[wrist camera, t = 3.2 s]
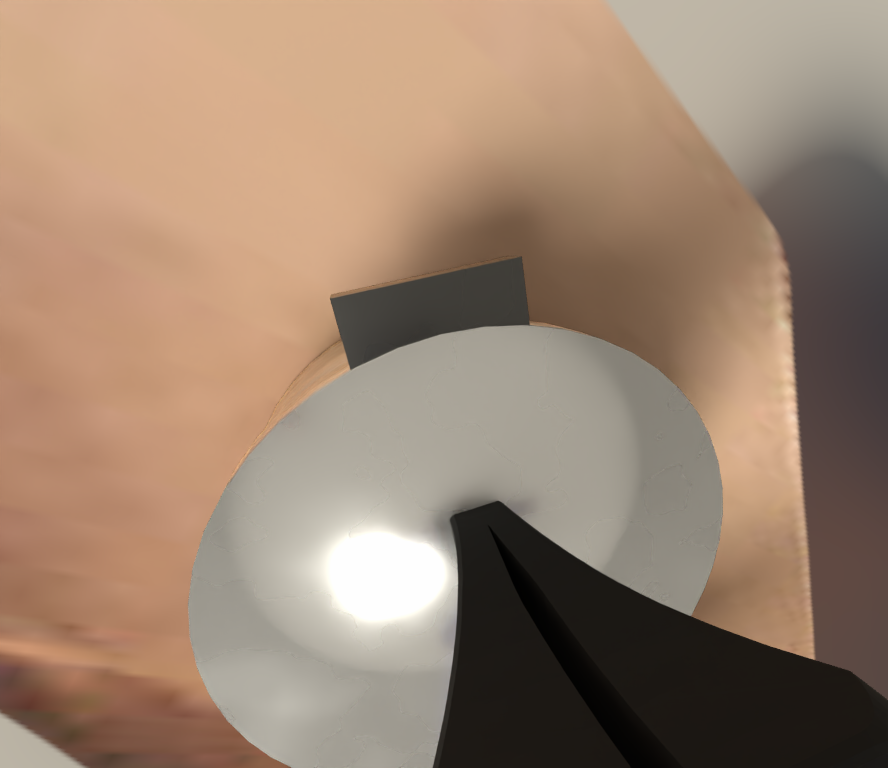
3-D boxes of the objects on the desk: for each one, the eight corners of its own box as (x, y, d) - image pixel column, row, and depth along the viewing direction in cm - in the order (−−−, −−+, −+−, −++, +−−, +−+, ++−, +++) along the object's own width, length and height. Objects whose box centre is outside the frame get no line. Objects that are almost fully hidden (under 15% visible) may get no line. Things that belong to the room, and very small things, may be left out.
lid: (691, 653, 16) (743, 714, 14) (305, 813, 13) (298, 915, 11) (704, 212, 10) (794, 203, 8) (57, 354, 8) (-42, 389, 6)
